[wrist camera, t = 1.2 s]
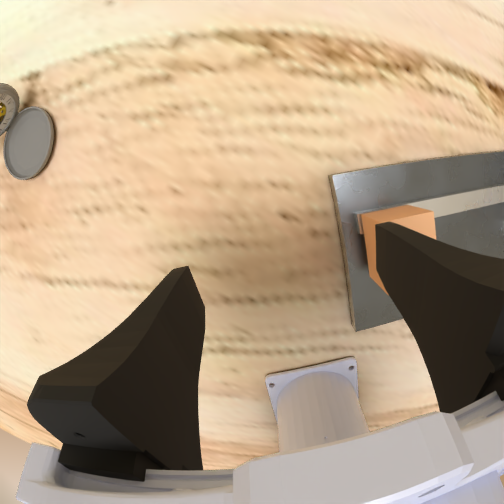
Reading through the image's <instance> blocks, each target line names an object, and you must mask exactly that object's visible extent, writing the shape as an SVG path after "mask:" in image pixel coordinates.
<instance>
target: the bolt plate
mask: <svg viewBox="0 0 504 504" xmlns="http://www.w3.org/2000/svg"><path fill="white" fill-rule="evenodd" d="M328 176H329V180H330V185H331V190H332V195H333V200H334V205H335V211H336V216H337V222H338V228H339V233H340V239H341V246H342V252H343V258H344V265H345V272H346V279H347V287H348V295H349V303H350V311H351V321H352V326H353V328H354V329H355V331H356V332H357V331H361V330H364V329H368V328H372V327H375V326H379V325H382V324H386V323H389V322H393V321H396V320H399V319H403V317H402V315H401V313H400V312H399V310H398V309H397V307H396V306H395V304H394V302H393V301H392V299H391V298H390V296H388V295H387V294H386V293H385V292H384V291H383V290H382V289H381V287H380V286H379V285H378V284H377V283H376V282H375V281H374V280H373V279H372V278H371V277H370V276H369V267H368V259H367V251H366V244H365V237H364V230H363V223H362V217H361V214H365V213H370V212H375V211H379V210H384V209H389V208H394V207H399V206H404V205H411V206H415V207H419V208H423V209H427V210H431V211H434V219H435V230H436V240H438V241H441V242H444V243H446V244H449V245H452V246H454V247H457V248H460V249H464V250H467V251H471V252H474V253H478V254H482V255H486V256H491V257H496V258H501V259H504V151H495V152H485V153H475V154H466V155H457V156H449V157H441V158H433V159H426V160H418V161H411V162H405V163H398V164H392V165H385V166H379V167H373V168H367V169H361V170H356V171H350V172H344V173H339V174H334V175H328Z"/></svg>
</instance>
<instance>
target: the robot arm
mask: <svg viewBox="0 0 504 504" xmlns="http://www.w3.org/2000/svg"><path fill="white" fill-rule="evenodd" d="M375 235H376V270H377V272H378V275H379V277H380V279H381V281H382V283H383V285H384V287H385V290H386V291H387V293H388V294H389V296H390V298H391V299H392V301H393V302H394V304H395V306H396V307H397V309H398V310H399V312H400V313H401V315H402V317H403V318H404V320H405V322H406V323H407V325H408V326H409V328H410V330H411V332H412V334H413V335H414V337H415V339H416V342H417V344H418V346H419V349H420V351H421V353H422V356H423V358H424V361H425V364H426V366H427V369H428V372H429V375H430V377H431V381H432V384H433V387H434V390H435V394H436V397H437V401H438V405H439V409H440V412H437V411H435V412H431V413H428V414H424V415H421V416H417V417H413V418H411V419H408V420H405V421H402V422H399V423H397V424H394V425H391V426H388V427H385V428H381V429H378V430H375V431H372V432H370V430H369V428H368V425H367V422H366V419H365V417H364V414H363V411H362V409H361V406H360V403H359V395H358V376H357V362H356V359H355V358H354V357H348V358H344V359H340V360H336V361H332V362H328V363H323V364H319V365H315V366H310V367H305V368H301V369H296V370H291V371H286V372H280V373H275V374H270V375H267V376H266V377H265V383H266V386H267V390H268V393H269V397H270V400H271V404H272V407H273V411H274V414H275V418H276V421H277V425H278V440H279V452H278V453H274V454H270V455H266V456H261V457H257V458H253V459H251V460H249V461H247V462H245V463H244V464H242V465H240V466H238V467H237V468H236V469H224V470H203V466H202V458H201V449H200V436H199V419H198V380H199V371H200V363H201V356H202V349H203V341H204V334H205V306H204V304H203V301H202V299H201V296H200V294H199V292H198V289H197V287H196V284H195V282H194V279H193V277H192V274H191V272H190V269H189V266H185V267H181V268H176V269H173V270H172V271H171V272H170V273H169V274H168V275H167V276H166V277H165V278H164V279H163V280H162V281H161V282H160V283H159V285H158V286H157V287H156V288H155V289H154V290H153V291H152V292H151V293H150V295H149V296H148V297H147V298H146V299H145V300H144V301H143V302H142V303H141V304H140V305H139V306H138V307H137V308H136V309H135V310H134V311H133V313H132V314H131V315H130V316H129V317H128V318H127V319H125V320H124V321H123V322H122V323H121V324H120V325H119V326H118V327H117V328H115V329H114V330H113V331H112V332H111V333H110V334H108V335H107V336H106V337H104V338H103V339H102V340H100V341H99V342H98V343H96V344H95V345H94V346H92V347H91V348H89V349H88V350H87V351H85V352H83V353H82V354H80V355H79V356H77V357H75V358H74V359H72V360H70V361H69V362H67V363H65V364H63V365H61V366H59V367H57V368H55V369H53V370H51V371H49V372H47V373H45V374H43V375H41V376H39V378H38V380H37V382H36V384H35V386H34V389H33V391H32V393H31V395H30V397H29V400H28V403H27V406H28V409H29V411H30V413H31V415H32V416H33V417H34V419H35V420H36V421H37V422H38V423H39V424H40V425H42V426H43V427H44V428H45V429H46V430H47V431H49V432H50V433H51V434H52V435H53V436H55V437H56V438H57V439H58V440H60V441H61V442H62V443H63V446H62V449H61V450H59V449H57V448H55V447H52V446H48V445H43V444H39V443H35V442H34V443H32V444H31V447H30V450H29V453H28V456H27V459H26V463H25V466H24V469H23V472H22V476H21V479H20V482H19V486H18V490H17V494H16V499H17V500H19V501H20V502H22V503H24V504H504V488H503V485H502V482H501V480H500V476H501V475H503V474H504V259H501V258H496V257H491V256H486V255H482V254H478V253H474V252H471V251H467V250H464V249H460V248H457V247H454V246H452V245H449V244H446V243H444V242H441V241H438V240H436V239H433V238H431V237H428V236H426V235H424V234H421V233H419V232H416V231H414V230H412V229H409V228H407V227H404V226H402V225H399V224H396V223H393V222H390V221H389V222H384V223H380V224H375ZM350 366H353V367H352V368H349V367H350ZM271 383H274V385H270V384H271Z"/></svg>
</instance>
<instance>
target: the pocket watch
mask: <svg viewBox="0 0 504 504" xmlns="http://www.w3.org/2000/svg"><path fill="white" fill-rule="evenodd" d="M0 102H1V103H0V106H2V108H0V136H1V135H2V134H3V133H4V132H5V131H7V133H6V136H5V141H4V159H5V164H6V167H7V169H8V171H9V172H10V174H11V175H12V176H13V177H15V178H17V179H20V180H27V179H29V178H32V177H34V176H36V175H37V174H38V173H39V172H40V171H41V170H42V169H43V168H44V166H45V165H46V163H47V161H48V159H49V156H50V154H51V151H52V146H53V141H54V129H53V123H52V120H51V117H50V116H49V114H48V113H47V112H46V111H45V110H44V109H42V108H39V107H33V106H31V107H28V108H25V109H24V110H22V111H21V112H20V113H18V108H19V96H18V94H17V92H16V90H15V89H14V88H13V87H11V86H10V85H8V84H4V83H0Z"/></svg>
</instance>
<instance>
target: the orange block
mask: <svg viewBox="0 0 504 504" xmlns="http://www.w3.org/2000/svg"><path fill="white" fill-rule="evenodd" d="M361 217H362V223H363V230H364V237H365V244H366V251H367V259H368V267H369V276H370V277H371V278H372V279H373V280H374V281H375V282H376V283H377V284H378V285H379V286H380V287H381V289H382V290H383V291H384V292H385V293H386V294H387V295H388V296H389V294H388V293H387V291H386V290H385V287H384V285H383V283H382V281H381V279H380V277H379V275H378V272H377V270H376V235H375V224H380V223H384V222H389V221H390V222H393V223H396V224H399V225H402V226H404V227H407V228H409V229H412V230H414V231H416V232H419V233H421V234H424V235H426V236H428V237H431V238H433V239H436V230H435V219H434V211H431V210H427V209H423V208H419V207H415V206H411V205H404V206H399V207H394V208H389V209H384V210H379V211H375V212H370V213H365V214H361Z"/></svg>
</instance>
